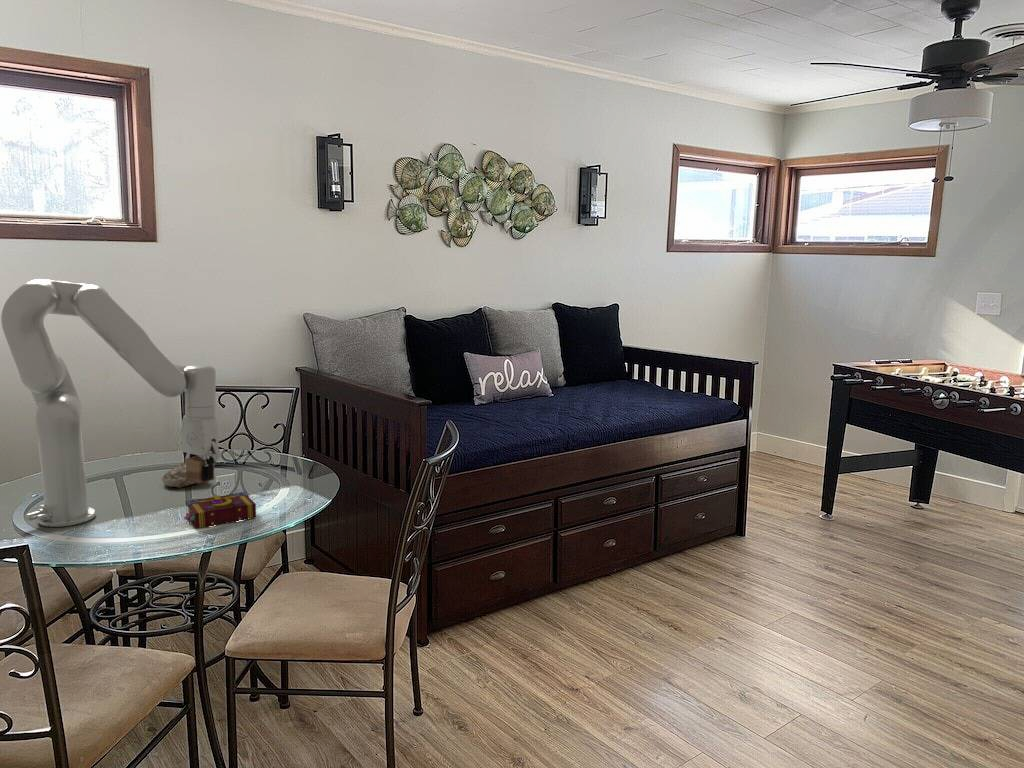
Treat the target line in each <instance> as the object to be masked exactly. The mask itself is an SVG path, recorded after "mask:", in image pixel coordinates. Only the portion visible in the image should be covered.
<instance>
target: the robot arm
mask: <svg viewBox="0 0 1024 768" xmlns="http://www.w3.org/2000/svg"><path fill="white" fill-rule="evenodd" d="M49 314H50V315H61V316H72V317H79V318H81V320H82V321H83V322H84V323H85V324H87V325H88V326H89V327H90V328H91V329H92V331H94V332H95V333H96V334H97V335H98V336H99V337H100V338H101V339H102V340H103V341H104V342H105V343H106V344H107V345H108V346H109V347H110V348H112V350H113V351H114V352H115V353H116V354H117V355H118V356H119V357H120V359H121V358H122V359H123V360H124V361H125V362H126V363H127V364H128V365H129V366H130V367H131V368H132V369H133V370H134V371H135V372H136V373H137V374H138V375H139V376H140V377H141V378H142V379H143V380H145V382H146V383H147V384H149V386H150V387H152V388H153V389H154V391H156V392H157V393H158V394H159V395H160V396H162V397H166V398H176V397H179V396H180V395H182V394H183V393H184V415H183V417H182V420H181V427H180V436H179V437H180V438H179V439H180V440H179V449H180V451H181V452H182V454H183V456H184V458H185V462H186V458H190V457H195V456H202V458H203V463H204V466H202V480H203V481H207V480H211V479H213V465H214V466H215V464H216V462H218V460H219V459H220V458H221V457H222V452H221V451H220V449H219V445H220V444H219V443H220V442H219V441H220V439H219V429H218V421H217V418H216V395H217V394H216V393H217V392H216V391H217V390H216V387H217V386H216V379H217V378H216V377H217V376H216V370H215V367H213V366H211V365H205V364H195V365H185V364H184V365H183V364H175V363H173V362H171V361H170V360H169V359H168V358H167V357H166V356H165V355H164V354H163V353H162V352H161V350H159V348H157V346H156V345H155V343H153V341H152V340H151V339H150V337H149V335H148V334H147V333H146V331H145V330H144V329H143V328H142V327H141V326H140V325H139V324H138V323H137V321H135V320H134V319H133V317H131V316H130V315H129V314H128V313H127V312H126V311H125V310H124V309H123V308H122V307H121V306H120V305H119V304H118V303H117V302H116V301H115V300H114V299H113V298H112V297H111V296H110V294H109V293H108V291H107V290H105V289H104V288H103V287H101V286H99V285H96V284H90V283H89V284H87V283H76V282H69V281H60V280H52V279H43V278H36V279H31V280H29V281H27V282H25V283H23V284H22V285H21V286H19V287H18V288H16V290H15V291H13V292H12V293H11V294H10V295H9V297H8V298H7V299H6V301H5V303H4V305H3V307H2V311H1V315H0V317H1V318H0V321H1V322H0V323H1V327H2V328H1V329H2V331H3V334H4V336H5V340H6V342H7V345H8V347H9V351H10V354H11V355H12V358H13V360H14V363H15V365H16V368H17V371H18V374H19V378H20V379H21V382H22V383H23V385H24V387H26V388H27V389H28V390H30V393H31V395H32V398H33V399H34V402H35V404H36V406H37V409H36V412H35V419H34V420H35V429H36V436H37V445H38V454H39V461H40V462H39V463H40V471H41V482H42V495H43V504H40V505H39V508H38V509H37V510H36V511H31V512H28V513H25V514H24V520H25V522H31V521H35V520H37V521H38V524H39V525H41V526H44V527H48V526H49V527H51V528H52V527H53V528H57V527H58V528H61V527H69V526H74V525H75V526H76V525H79V524H83V523H86V522H89V521H90V520H92V519H94V518H95V516H96V510H95V508H93V507H89V506H88V504H89V503H88V491H87V490H88V489H87V480H86V479H87V477H86V467H85V455H84V444H83V443H84V442H83V434H82V433H83V432H82V403H81V400H80V397H79V395H78V393H77V390H76V387H75V384H74V383H73V380H72V378H71V375H70V371H69V370H68V367H67V365H66V363H65V361H64V359H62V357H61V356H60V355H59V354H57V353H56V352H55V351H54V348H53V346H52V343H51V341H50V338H49V334H48V332H47V330H46V328H45V325H44V322H45V321H44V320H45V318H46V316H47V315H49ZM207 457H209V460H208V459H207ZM211 481H212V480H211ZM207 482H208V481H207Z"/></svg>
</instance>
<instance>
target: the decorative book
mask: <svg viewBox="0 0 1024 768" xmlns="http://www.w3.org/2000/svg"><path fill="white" fill-rule="evenodd" d="M185 505H186V506H187V508H188V512H186V514H185V516H184V517H183V519H184V520H187V519H188V521H189V522H190V523H191V524H192V525H193V526H194V528H195V529H200V527H201V528H206V527H205V526H207V527H208V526H214V525H223V524H222V523H224V524H227V523H226V522H230V523H233V522H232V521H239V520H244V519H247V520H249V519H248V518H253V519H255V518H254V517H256V518H257V510H256V509H257V507H256V503H255V501H254V500H252V498H250V496H249V494H248V493H247V492H246V491H241V492H235V493H230V494H226V495H219V494H218V495H212V497H207V498H196V499H195V498H194V499H188V500H185ZM214 527H215V526H214Z"/></svg>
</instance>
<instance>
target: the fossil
mask: <svg viewBox="0 0 1024 768" xmlns="http://www.w3.org/2000/svg"><path fill="white" fill-rule="evenodd" d="M161 481H162V482H163V485H165V486H167V487H170V488H172V487H173V488H174V487H176V488H179V489H180V488H181V489H182V488H184V487H188V486H190V485H195V484H196V483H195V482H191V481H187V480H186V462H183V461H182V462H180V464H179V466H177V467H174V468H171V469H169V470H168V471H166V472H165V473H164V474H163V476H162V477H161Z"/></svg>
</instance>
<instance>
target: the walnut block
mask: <svg viewBox="0 0 1024 768" xmlns="http://www.w3.org/2000/svg"><path fill="white" fill-rule="evenodd" d="M185 459H186V461H185V463H186V480H187V481H191V482H195V483H194V484H203V483H206V482H211V481H214V480H215V465H213V479H211V480H207V481H203V480H202V466H204V463H203V458H202V456H195V457H190V458H185ZM207 459H208V460H209V456H208V457H207Z"/></svg>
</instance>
